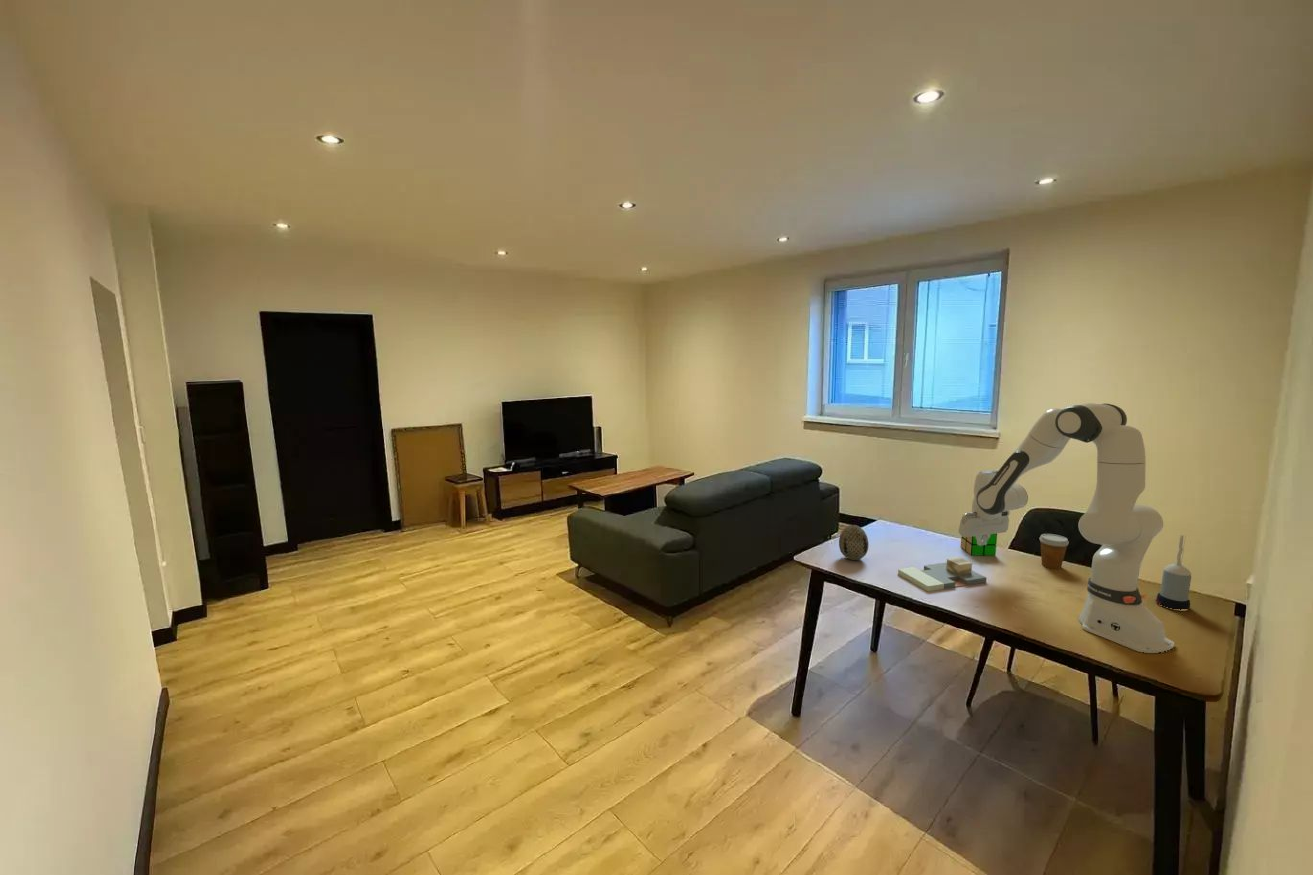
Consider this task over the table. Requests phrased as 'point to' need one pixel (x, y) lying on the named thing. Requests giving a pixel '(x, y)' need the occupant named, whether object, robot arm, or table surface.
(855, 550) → the decorative egg
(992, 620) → the table surface
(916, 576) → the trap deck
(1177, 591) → the humidifier
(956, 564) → the maple block
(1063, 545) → the disposable coffee cup
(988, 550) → the puzzle cube
